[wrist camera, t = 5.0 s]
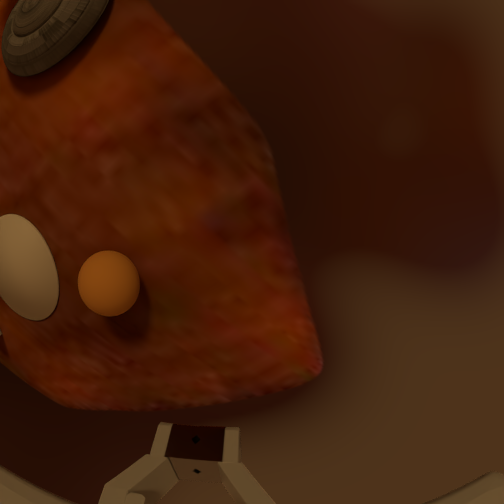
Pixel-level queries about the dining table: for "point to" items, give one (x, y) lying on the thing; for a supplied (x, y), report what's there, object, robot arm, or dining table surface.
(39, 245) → the disc
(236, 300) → the dining table surface
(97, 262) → the ball
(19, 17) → the flying saucer
